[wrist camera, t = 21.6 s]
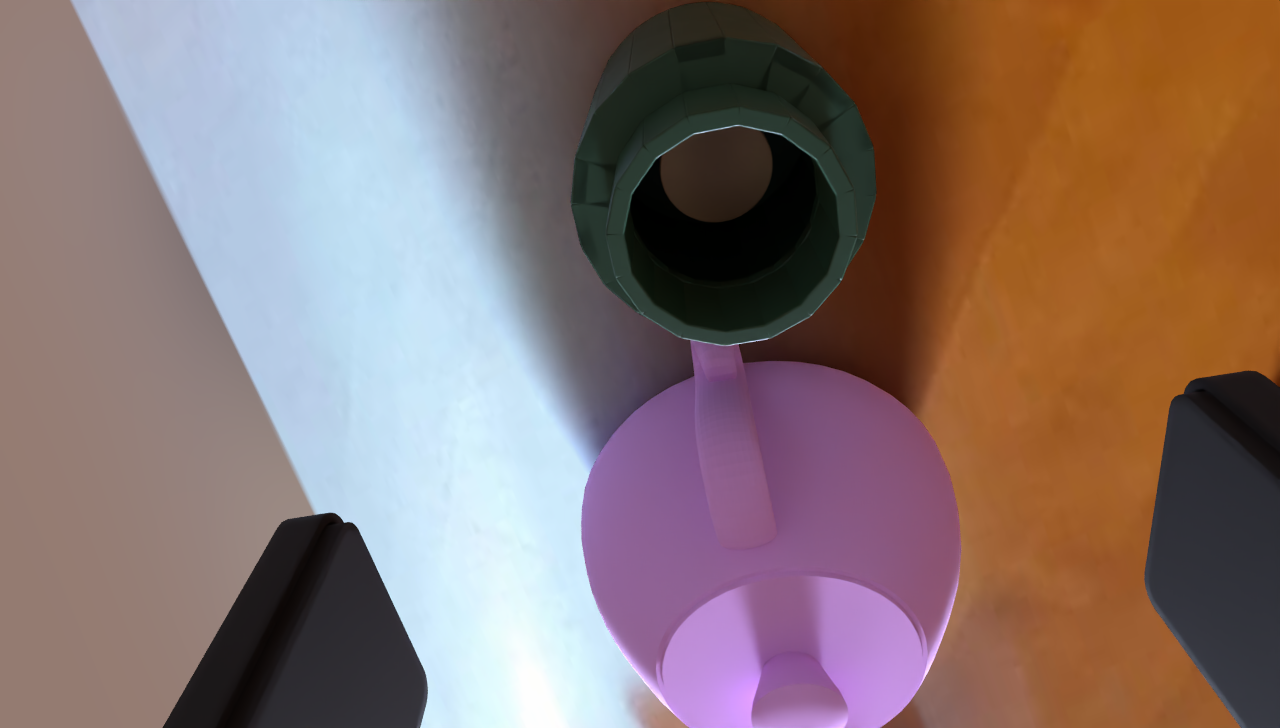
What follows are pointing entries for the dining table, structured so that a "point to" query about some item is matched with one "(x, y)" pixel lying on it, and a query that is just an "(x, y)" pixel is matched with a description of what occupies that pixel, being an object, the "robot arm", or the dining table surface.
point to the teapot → (773, 545)
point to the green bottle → (754, 242)
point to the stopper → (717, 173)
